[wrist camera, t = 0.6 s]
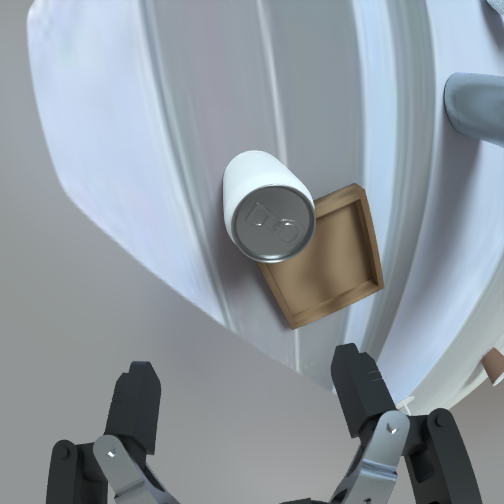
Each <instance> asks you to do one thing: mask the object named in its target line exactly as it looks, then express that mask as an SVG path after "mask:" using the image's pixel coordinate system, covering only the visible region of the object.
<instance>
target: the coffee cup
mask: <svg viewBox="0 0 504 504" xmlns="http://www.w3.org/2000/svg"><path fill="white" fill-rule="evenodd" d="M481 361H482V364H483V366H484V368H485V370H486V373H487V375H488V376H489V378H490V380H491V382H492V384H493V386H495V385H497V384H498V383H499V382H500V381H501V380H502V379H503V378H504V356H503V355H502V354H501V353H500V352H499V351H498V350H497V349H496V348H494V347H492V348H491V349H489V350H488V351H487V352H486V353H485V354H484V356H483V357H482V359H481Z"/></svg>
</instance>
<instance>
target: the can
mask: <svg viewBox="0 0 504 504" xmlns="http://www.w3.org/2000/svg"><path fill="white" fill-rule="evenodd" d="M223 206H224V221H225V226H226V229H227V232H228V234H229V236H230V238H231V239H232V241H233V242H234V243H235V244H236V246H237V247H238V248H239V250H240V251H241V252H242V253H243V254H244V255H246V256H247V257H249V258H251V259H253V260H255V261H258V262H262V263H279V262H283V261H287V260H289V259H291V258H293V257H295V256H297V255H298V254H299V253H301V252H302V251H303V250H304V249H305V248H306V247H307V245H308V244H309V243H310V241H311V239H312V237H313V235H314V232H315V228H316V214H315V209H314V203H313V200H312V197H311V195H310V193H309V191H308V190H307V188H306V187H305V186H304V185H303V184H302V182H301V181H300V180H299V179H298V178H297V177H296V176H295V175H294V174H292V173H291V172H290V171H289V170H288V169H287V168H286V167H285V166H284V165H283V164H282V163H281V162H280V161H278V160H277V159H276V158H275V157H273V156H272V155H270V154H268V153H266V152H263V151H247V152H244V153H241V154H239V155H238V156H236V157H235V158H234V159H232V160H231V162H230V163H229V164H228V166H227V168H226V170H225V172H224V176H223Z"/></svg>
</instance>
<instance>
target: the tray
mask: <svg viewBox="0 0 504 504" xmlns="http://www.w3.org/2000/svg"><path fill="white" fill-rule="evenodd" d="M313 203H314V209H315V214H316V228H315V232H314V235H313V237H312V239H311V241H310V243H309V244H308V245H307V247H306V248H305V249H304V250H303V251H302V252H301V253H299V254H298V255H297V256H295V257H293V258H291V259H289V260H287V261H283V262H279V263H262V262H258V261H256V263H257V265H258V267H259V269H260V270H261V272H262V274H263V276H264V278H265V280H266V282H267V284H268V285H269V287H270V289H271V291H272V293H273V295H274V297H275V299H276V300H277V302H278V304H279V306H280V308H281V310H282V312H283V314H284V316H285V317H286V319H287V321H288V323H289V325H290V327H291V329H292V330H294V329H296V328H299V327H301V326H304V325H306V324H308V323H311V322H313V321H315V320H318V319H320V318H322V317H324V316H327V315H329V314H331V313H333V312H335V311H338V310H340V309H342V308H344V307H346V306H348V305H351V304H353V303H355V302H357V301H359V300H361V299H363V298H365V297H367V296H369V295H371V294H373V293H375V292H377V291H379V290H381V289H383V288H384V282H383V276H382V269H381V263H380V257H379V252H378V246H377V241H376V236H375V231H374V226H373V222H372V217H371V213H370V209H369V204H368V200H367V196H366V192H365V189H363V188H362V187H360V186H359V185H357V184H356V183H354V184H351V185H349V186H347V187H344V188H342V189H340V190H337V191H335V192H333V193H330V194H328V195H326V196H323V197H321V198H319V199H317V200H314V201H313Z"/></svg>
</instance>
